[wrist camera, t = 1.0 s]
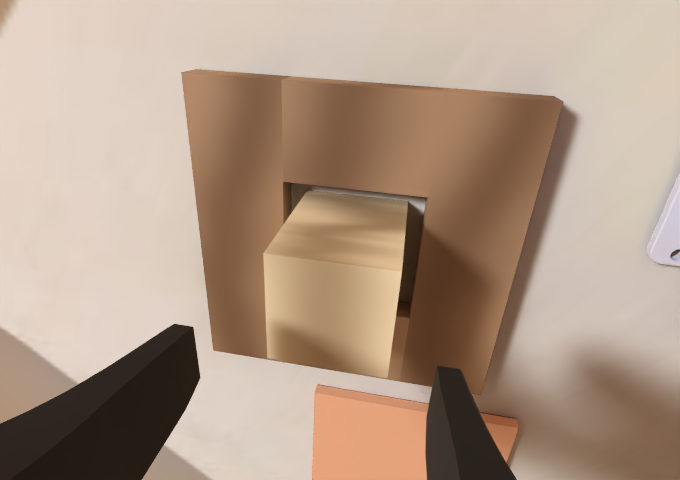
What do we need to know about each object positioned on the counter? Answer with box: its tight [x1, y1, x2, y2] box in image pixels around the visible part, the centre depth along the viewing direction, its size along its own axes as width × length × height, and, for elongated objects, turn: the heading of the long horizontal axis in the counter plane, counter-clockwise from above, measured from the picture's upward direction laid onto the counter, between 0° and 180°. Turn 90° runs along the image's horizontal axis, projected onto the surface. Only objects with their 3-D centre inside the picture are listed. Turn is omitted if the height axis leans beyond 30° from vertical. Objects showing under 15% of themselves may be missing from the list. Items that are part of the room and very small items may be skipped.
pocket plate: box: [181, 69, 563, 395], centre depth 19 cm, size 14×14×1 cm
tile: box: [312, 385, 519, 480], centre depth 26 cm, size 11×11×1 cm
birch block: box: [263, 190, 408, 378], centre depth 17 cm, size 4×4×6 cm
